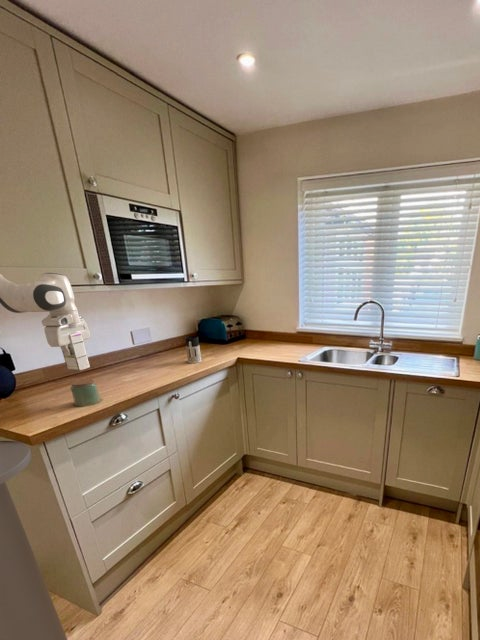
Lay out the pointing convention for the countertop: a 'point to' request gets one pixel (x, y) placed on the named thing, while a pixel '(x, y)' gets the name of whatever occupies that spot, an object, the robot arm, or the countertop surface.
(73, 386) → the green lidded jar
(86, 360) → the syrup box
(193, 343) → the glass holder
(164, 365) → the countertop surface
